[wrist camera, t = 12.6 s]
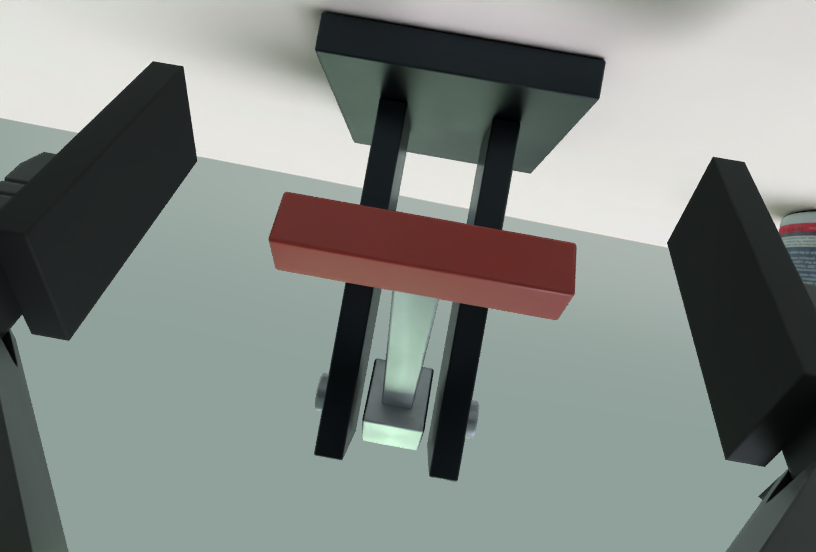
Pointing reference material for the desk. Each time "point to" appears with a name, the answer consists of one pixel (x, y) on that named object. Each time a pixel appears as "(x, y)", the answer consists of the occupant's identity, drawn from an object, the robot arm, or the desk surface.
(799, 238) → the pill bottle
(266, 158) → the desk surface
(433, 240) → the lever
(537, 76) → the bracket
